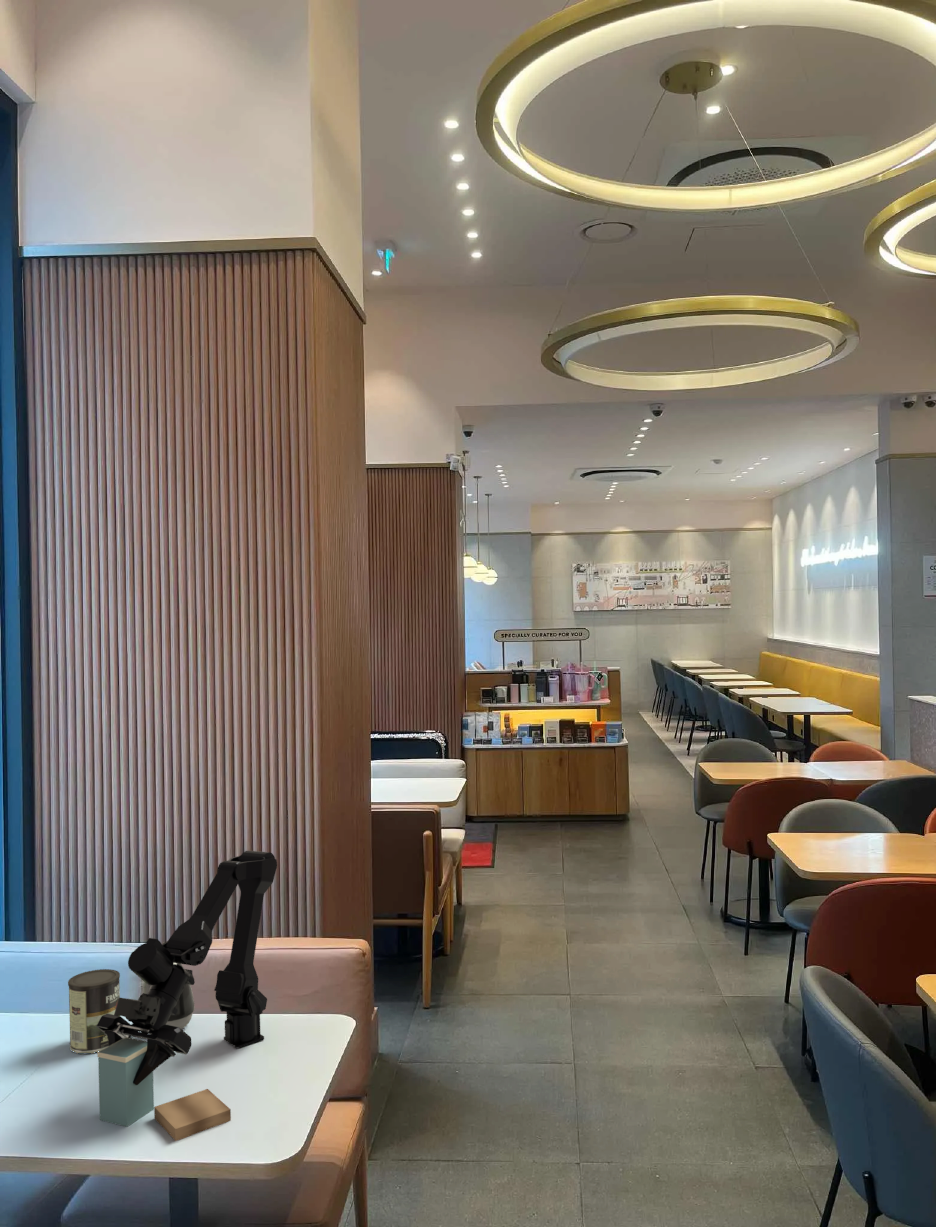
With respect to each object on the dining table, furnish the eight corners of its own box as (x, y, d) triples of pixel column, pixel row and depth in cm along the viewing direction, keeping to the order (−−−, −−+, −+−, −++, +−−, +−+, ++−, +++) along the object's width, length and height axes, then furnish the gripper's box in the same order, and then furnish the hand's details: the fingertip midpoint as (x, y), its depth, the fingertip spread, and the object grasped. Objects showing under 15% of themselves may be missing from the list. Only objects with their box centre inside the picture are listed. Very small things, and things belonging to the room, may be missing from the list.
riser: (207, 1102, 173) (207, 1089, 173) (230, 1123, 165) (230, 1109, 165) (154, 1121, 166) (154, 1107, 167) (175, 1144, 159) (175, 1129, 159)
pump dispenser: (204, 1020, 209) (202, 952, 209) (178, 1040, 199) (176, 969, 199) (164, 1017, 212) (163, 950, 212) (136, 1036, 202) (135, 966, 202)
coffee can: (128, 1033, 204) (127, 968, 204) (109, 1054, 194) (108, 985, 194) (82, 1034, 204) (80, 969, 204) (60, 1055, 194) (59, 987, 194)
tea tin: (127, 1102, 173) (125, 1037, 173) (154, 1109, 170) (153, 1043, 170) (98, 1120, 167) (97, 1052, 167) (127, 1127, 164) (125, 1058, 164)
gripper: (102, 970, 176) (56, 1054, 166) (179, 983, 168) (135, 1071, 158) (134, 997, 183) (91, 1079, 173) (209, 1010, 175) (169, 1097, 165)
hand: (120, 1081), depth 167 cm, fingers closed on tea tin, 6 cm apart
